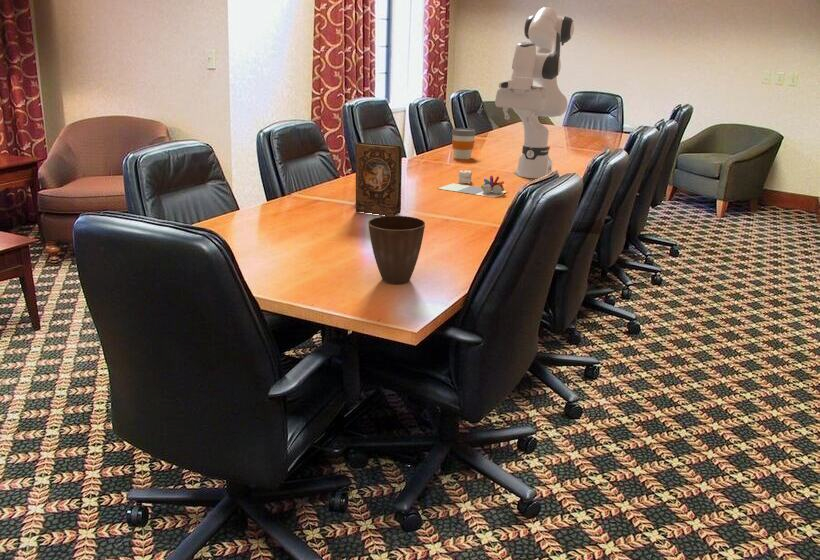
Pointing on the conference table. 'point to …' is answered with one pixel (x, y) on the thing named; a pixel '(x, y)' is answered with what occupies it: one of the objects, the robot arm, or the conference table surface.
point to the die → (465, 176)
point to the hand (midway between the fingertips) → (517, 120)
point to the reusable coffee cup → (463, 142)
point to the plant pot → (396, 246)
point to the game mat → (469, 190)
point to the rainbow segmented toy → (492, 186)
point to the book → (378, 178)
